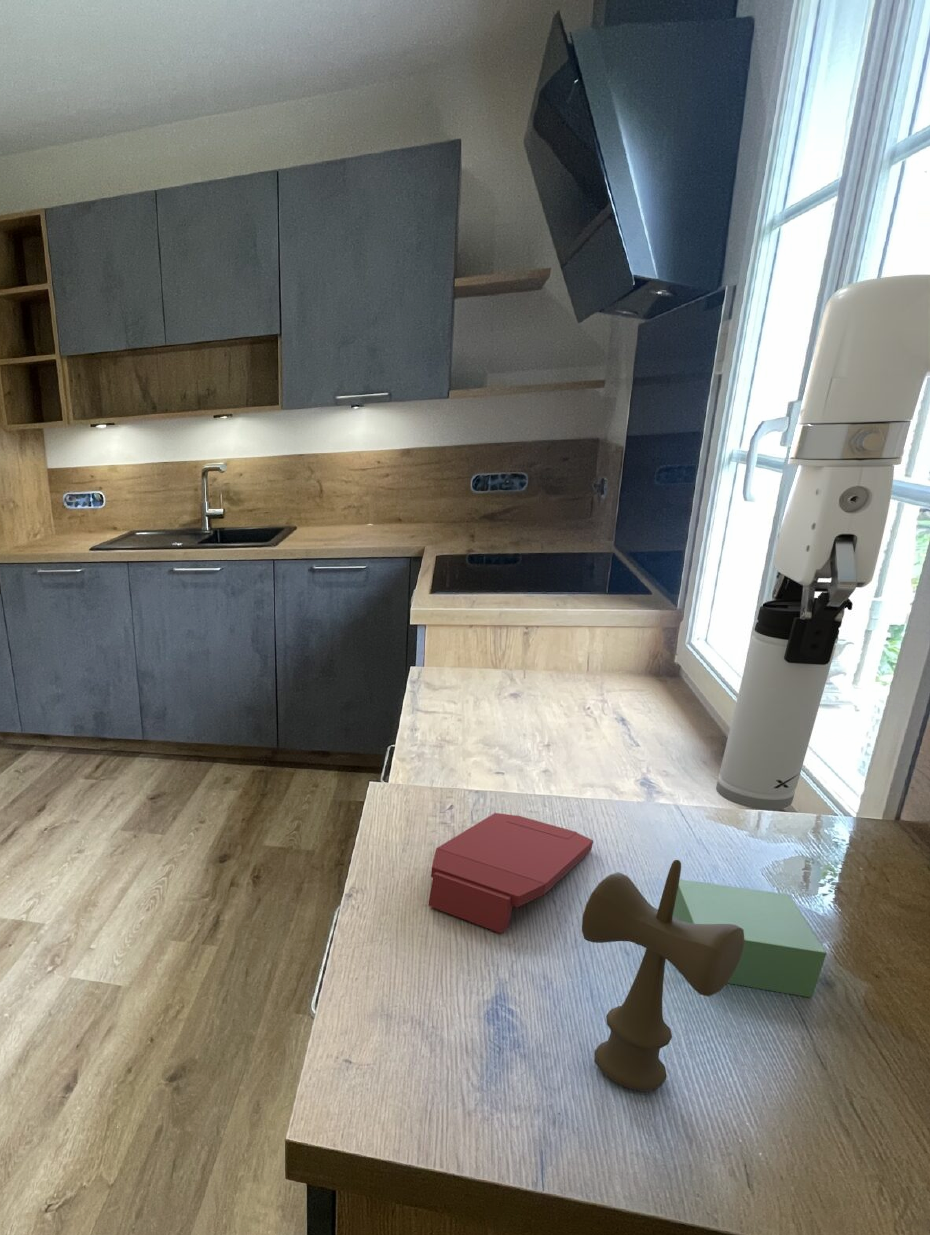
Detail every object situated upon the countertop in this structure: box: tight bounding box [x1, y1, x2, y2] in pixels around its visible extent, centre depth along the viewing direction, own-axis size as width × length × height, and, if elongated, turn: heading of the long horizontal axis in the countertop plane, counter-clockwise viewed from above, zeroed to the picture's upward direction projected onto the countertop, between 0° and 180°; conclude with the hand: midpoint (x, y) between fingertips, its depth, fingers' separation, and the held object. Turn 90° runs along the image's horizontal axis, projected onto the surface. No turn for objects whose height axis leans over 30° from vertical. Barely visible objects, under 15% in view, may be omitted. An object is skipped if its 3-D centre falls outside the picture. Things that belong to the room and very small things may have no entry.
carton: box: [427, 812, 594, 934], centre depth 93 cm, size 12×5×25 cm
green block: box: [673, 878, 827, 998], centre depth 77 cm, size 10×10×5 cm
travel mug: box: [715, 597, 854, 811], centre depth 75 cm, size 6×7×20 cm
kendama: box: [581, 859, 745, 1092], centre depth 61 cm, size 6×10×20 cm, turn 34°
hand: (793, 650), depth 73 cm, fingers closed on travel mug, 6 cm apart
